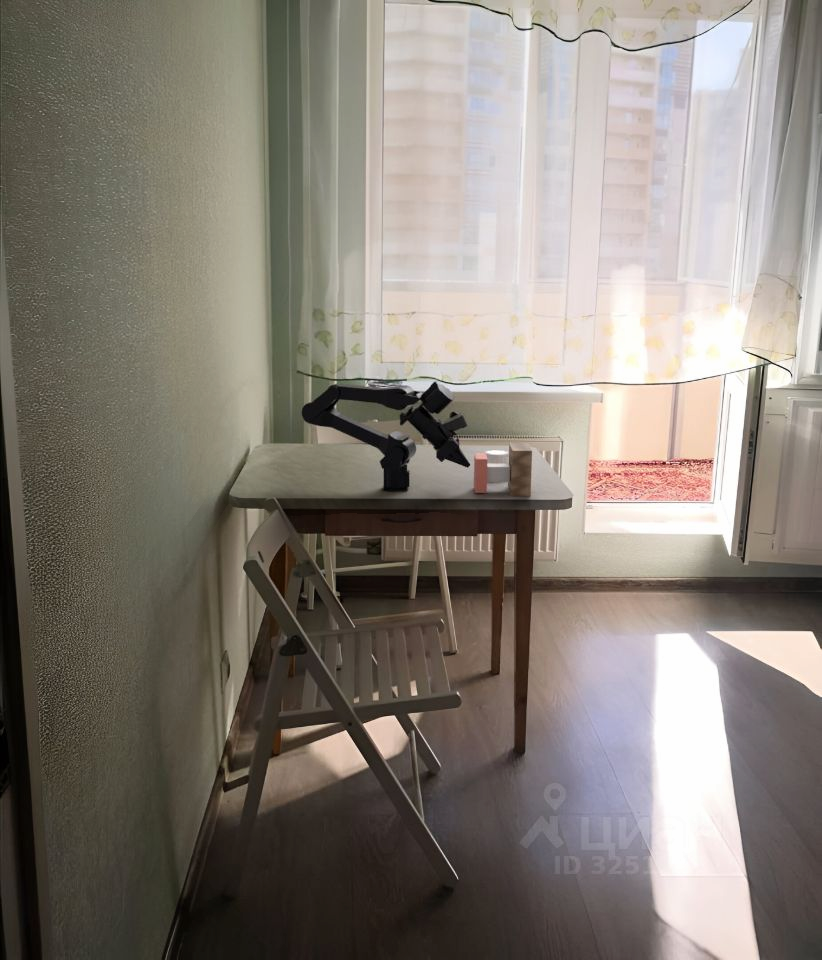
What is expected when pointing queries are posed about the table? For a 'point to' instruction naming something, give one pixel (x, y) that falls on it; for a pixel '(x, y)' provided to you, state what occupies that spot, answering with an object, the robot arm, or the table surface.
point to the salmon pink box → (488, 472)
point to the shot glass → (497, 456)
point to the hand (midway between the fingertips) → (469, 466)
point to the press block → (520, 469)
